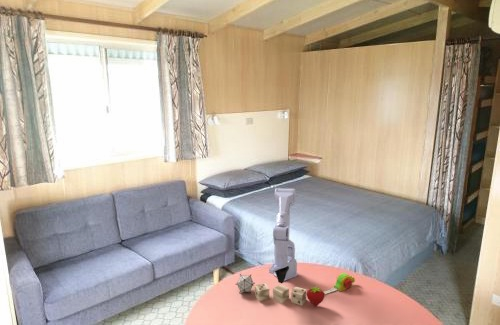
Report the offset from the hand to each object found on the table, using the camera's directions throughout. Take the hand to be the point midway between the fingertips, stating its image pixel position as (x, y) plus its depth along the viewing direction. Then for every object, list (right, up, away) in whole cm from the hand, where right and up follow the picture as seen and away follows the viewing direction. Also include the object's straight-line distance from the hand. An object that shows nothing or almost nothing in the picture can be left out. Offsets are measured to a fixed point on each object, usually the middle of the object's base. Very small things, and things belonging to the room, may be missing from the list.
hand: (281, 282), depth 150 cm
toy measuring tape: (+27, -6, +8) cm, 29 cm away
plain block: (0, -8, +1) cm, 8 cm away
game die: (-16, -7, +7) cm, 19 cm away
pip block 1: (-8, -8, +3) cm, 12 cm away
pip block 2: (+8, -8, -1) cm, 11 cm away
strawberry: (+14, -9, -5) cm, 17 cm away
